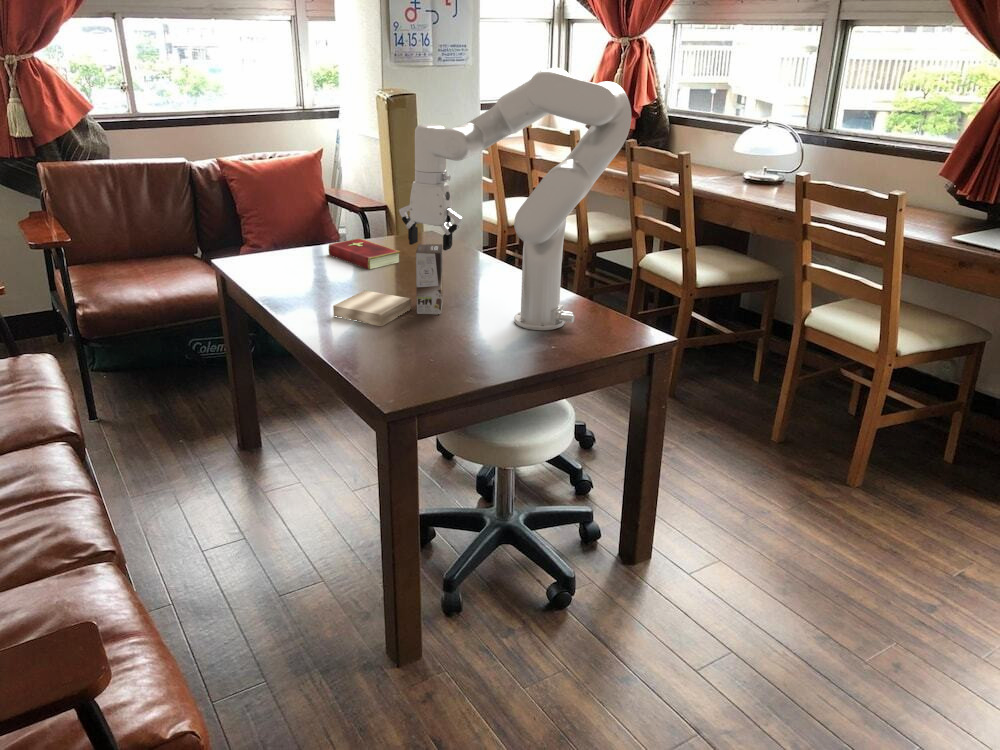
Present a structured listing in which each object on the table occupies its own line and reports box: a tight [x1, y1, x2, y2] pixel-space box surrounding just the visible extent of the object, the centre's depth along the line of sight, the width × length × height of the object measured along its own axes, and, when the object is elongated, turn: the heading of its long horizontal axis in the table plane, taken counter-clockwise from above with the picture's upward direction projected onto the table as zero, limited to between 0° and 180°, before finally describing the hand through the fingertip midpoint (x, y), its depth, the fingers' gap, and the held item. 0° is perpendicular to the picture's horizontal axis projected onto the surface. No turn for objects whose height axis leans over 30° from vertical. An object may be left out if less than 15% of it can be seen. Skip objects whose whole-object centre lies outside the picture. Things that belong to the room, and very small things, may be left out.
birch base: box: [332, 290, 412, 327], centre depth 206 cm, size 14×14×3 cm
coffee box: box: [415, 243, 444, 315], centre depth 207 cm, size 9×6×16 cm
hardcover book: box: [328, 237, 401, 270], centre depth 251 cm, size 12×21×4 cm, turn 45°
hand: (430, 246), depth 204 cm, fingers open, 9 cm apart
